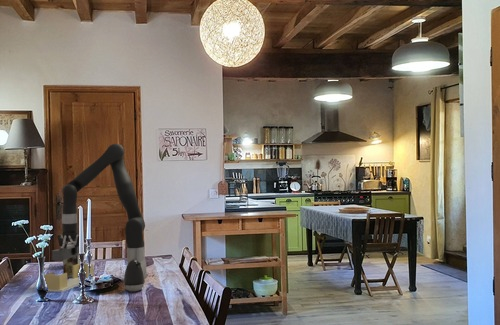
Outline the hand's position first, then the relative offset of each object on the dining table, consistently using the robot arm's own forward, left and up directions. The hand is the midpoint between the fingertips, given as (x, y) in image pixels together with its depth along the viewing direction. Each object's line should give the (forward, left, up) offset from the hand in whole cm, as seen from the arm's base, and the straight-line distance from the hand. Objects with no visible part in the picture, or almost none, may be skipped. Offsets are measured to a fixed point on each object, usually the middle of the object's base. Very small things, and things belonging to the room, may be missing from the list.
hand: (69, 254), depth 255 cm
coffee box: (+11, -18, -16) cm, 27 cm away
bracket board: (0, 0, -16) cm, 16 cm away
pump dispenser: (-41, +6, -16) cm, 44 cm away
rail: (0, 0, -1) cm, 1 cm away
